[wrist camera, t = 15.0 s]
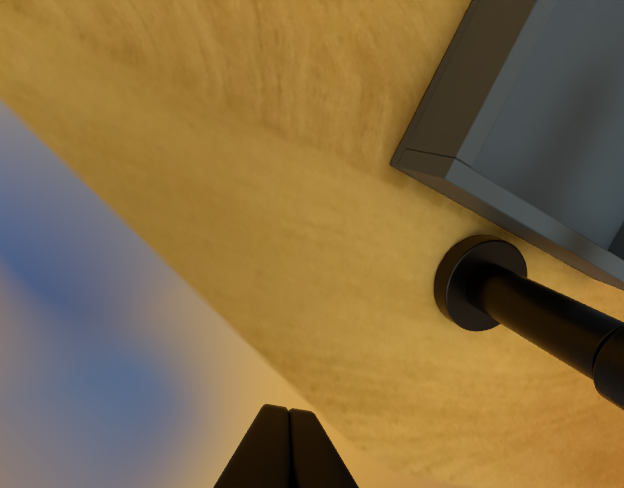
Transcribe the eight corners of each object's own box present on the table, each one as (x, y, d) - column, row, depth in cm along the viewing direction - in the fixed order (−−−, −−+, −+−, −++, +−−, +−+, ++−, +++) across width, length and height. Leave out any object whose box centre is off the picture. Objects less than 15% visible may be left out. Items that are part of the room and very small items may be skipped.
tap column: (466, 340, 25) (600, 438, 18) (416, 284, 23) (543, 367, 16) (528, 275, 25) (685, 346, 18) (483, 215, 23) (638, 267, 16)
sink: (592, 278, 27) (667, 308, 23) (388, 164, 21) (444, 178, 17) (740, 14, 25) (847, 0, 21) (563, -182, 20) (665, -248, 16)
